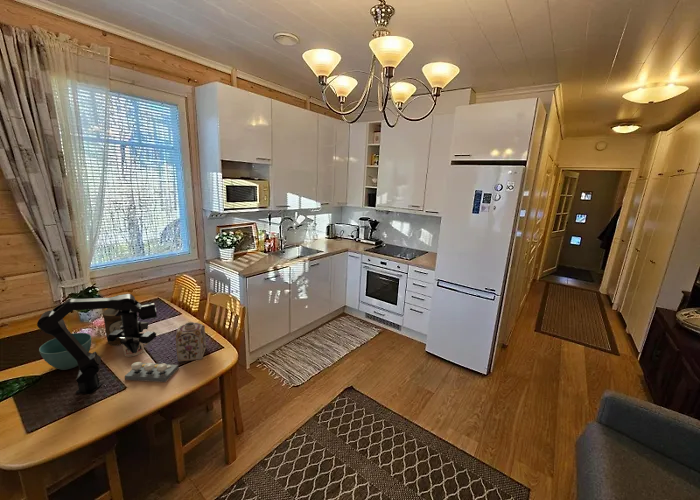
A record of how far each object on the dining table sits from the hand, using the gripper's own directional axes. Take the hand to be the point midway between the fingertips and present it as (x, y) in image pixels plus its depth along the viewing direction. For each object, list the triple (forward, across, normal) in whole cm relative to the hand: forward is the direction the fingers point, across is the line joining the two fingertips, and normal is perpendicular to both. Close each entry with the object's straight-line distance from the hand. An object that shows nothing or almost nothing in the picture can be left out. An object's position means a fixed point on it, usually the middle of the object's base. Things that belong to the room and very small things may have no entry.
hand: (134, 352), depth 138 cm
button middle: (+10, -6, 0) cm, 11 cm away
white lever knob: (+10, -12, 0) cm, 15 cm away
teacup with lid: (+12, +14, -18) cm, 26 cm away
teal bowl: (+12, +37, -4) cm, 39 cm away
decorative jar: (+12, -16, -18) cm, 27 cm away
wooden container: (+12, +30, -30) cm, 44 cm away
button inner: (+10, 0, 0) cm, 10 cm away
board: (+12, -6, -2) cm, 14 cm away
